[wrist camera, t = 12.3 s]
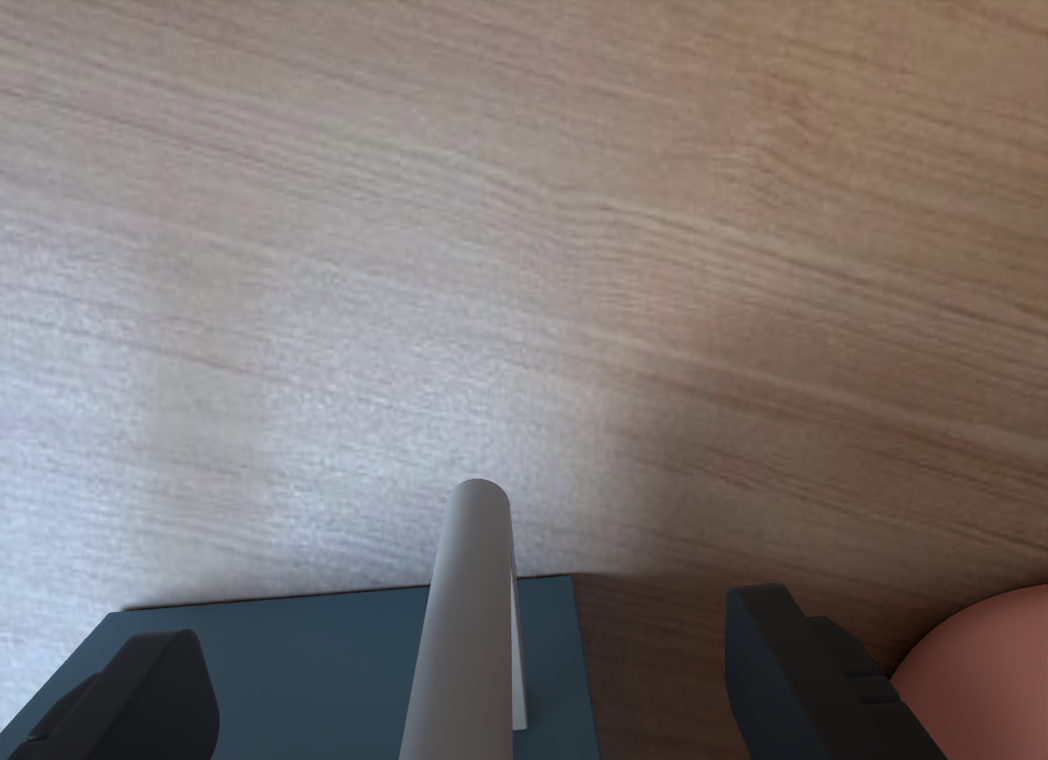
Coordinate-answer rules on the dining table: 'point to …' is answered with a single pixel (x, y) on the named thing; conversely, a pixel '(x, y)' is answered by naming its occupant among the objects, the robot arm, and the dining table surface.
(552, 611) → the cupboard door
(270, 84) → the dining table surface
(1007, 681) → the teapot
